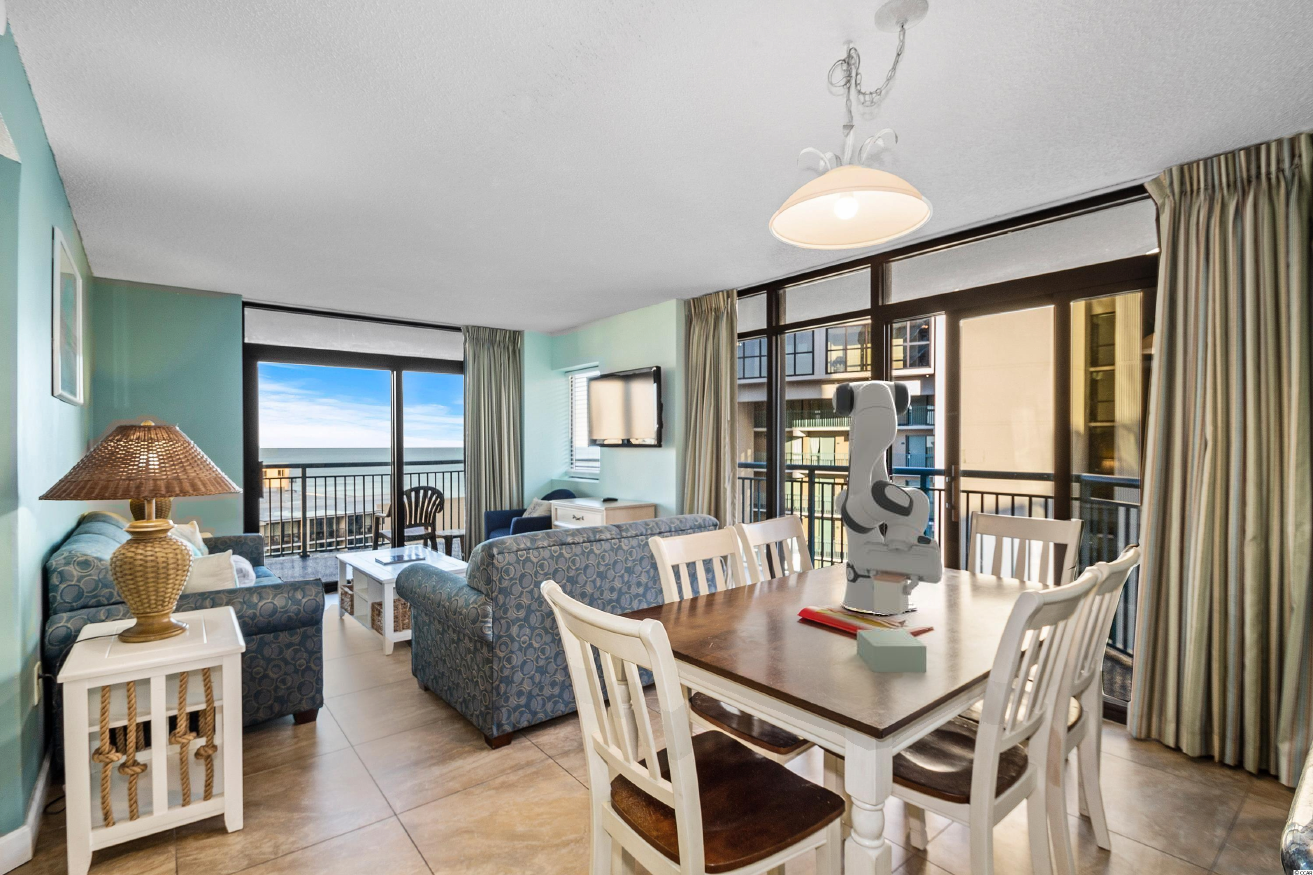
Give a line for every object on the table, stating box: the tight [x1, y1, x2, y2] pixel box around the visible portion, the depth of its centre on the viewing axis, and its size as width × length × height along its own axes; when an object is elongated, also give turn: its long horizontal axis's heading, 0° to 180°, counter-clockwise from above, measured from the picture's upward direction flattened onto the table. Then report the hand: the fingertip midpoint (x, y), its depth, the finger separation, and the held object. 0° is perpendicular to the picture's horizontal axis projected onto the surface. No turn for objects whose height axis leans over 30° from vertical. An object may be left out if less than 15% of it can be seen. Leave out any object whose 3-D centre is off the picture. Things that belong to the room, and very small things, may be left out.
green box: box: [856, 629, 927, 673], centre depth 148 cm, size 12×12×6 cm
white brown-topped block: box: [874, 573, 909, 616], centre depth 148 cm, size 6×6×8 cm
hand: (890, 591), depth 147 cm, fingers closed on white brown-topped block, 6 cm apart
